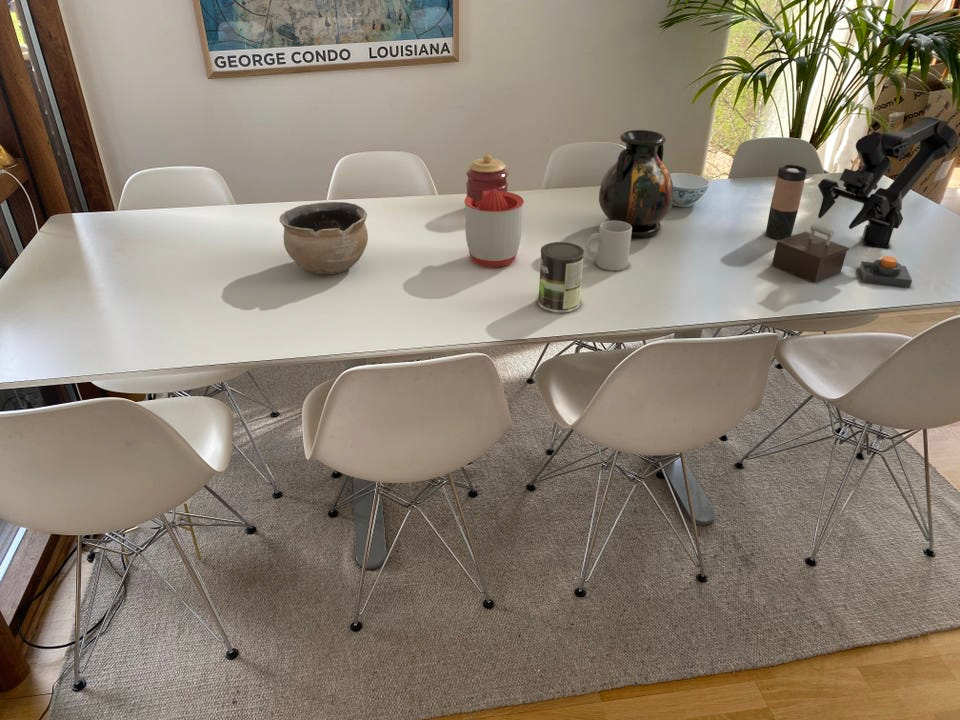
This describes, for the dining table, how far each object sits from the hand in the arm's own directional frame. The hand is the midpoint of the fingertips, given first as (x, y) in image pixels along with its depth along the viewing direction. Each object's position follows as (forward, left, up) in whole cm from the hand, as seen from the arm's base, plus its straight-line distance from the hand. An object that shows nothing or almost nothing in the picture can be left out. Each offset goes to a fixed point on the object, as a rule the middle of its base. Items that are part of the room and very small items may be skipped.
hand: (834, 222), depth 205 cm
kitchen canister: (+99, -12, -12) cm, 101 cm away
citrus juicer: (+88, +24, -12) cm, 92 cm away
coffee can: (+65, +45, -12) cm, 80 cm away
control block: (-14, +6, -11) cm, 19 cm away
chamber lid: (+5, +6, -5) cm, 9 cm away
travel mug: (+11, -17, -12) cm, 23 cm away
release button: (-14, +6, -8) cm, 17 cm away
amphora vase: (+53, -9, -12) cm, 55 cm away
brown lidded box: (+5, +6, -11) cm, 14 cm away
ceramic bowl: (+128, +42, -12) cm, 135 cm away
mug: (+57, +19, -12) cm, 61 cm away
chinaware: (+40, -36, -12) cm, 55 cm away
